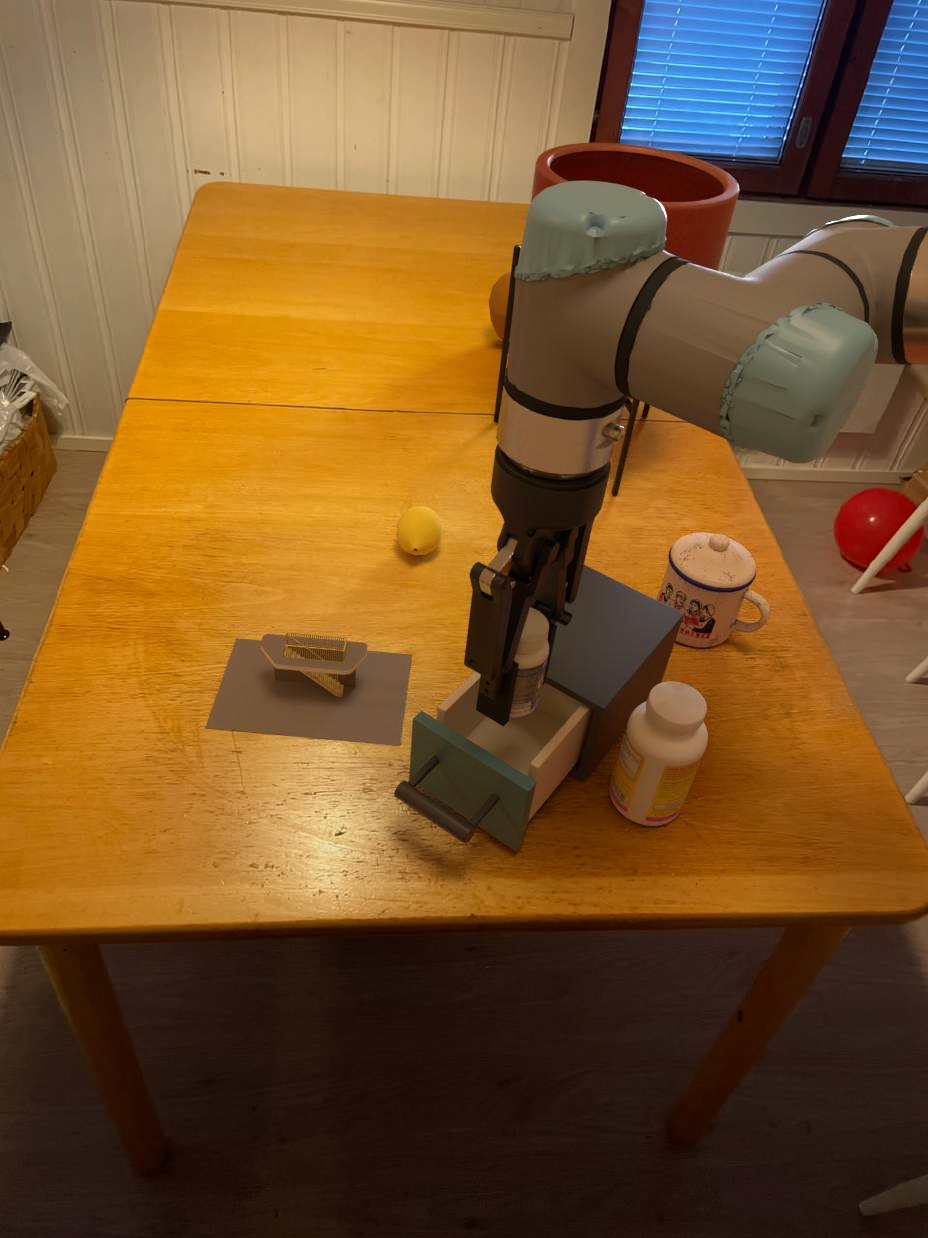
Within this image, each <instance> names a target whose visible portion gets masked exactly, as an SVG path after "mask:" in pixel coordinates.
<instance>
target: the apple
mask: <svg viewBox="0 0 928 1238" xmlns="http://www.w3.org/2000/svg"><path fill="white" fill-rule="evenodd" d="M510 276H511V271H507V272H505V273H504V274H502V275H501V276H500V277H499V278H498V279H497V280H496V282H495V283H494V284H493V285H492V286H491V291H490V295H489V299H488V308H489V317H490V321H491V322H490V323H491V325H492V327H493V329H494V331H495V334H496V336H497V338H499V340H500V339H501V340H502V341H503V336H504V328H505V319H506V311H507V302H508V293H509V285H510ZM512 317H513V316H512ZM511 327H512V325H511ZM510 336H511V333H510ZM501 340H500V341H501ZM502 341H501V342H502Z"/></svg>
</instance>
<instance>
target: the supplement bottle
mask: <svg viewBox="0 0 928 1238" xmlns="http://www.w3.org/2000/svg"><path fill="white" fill-rule="evenodd" d="M707 712H708V706H707V702H706V700H705V698H704V697H703V695H702V694H701V693H700V692H699V691H698V690H697V689H696V688H694V687H692V686H690V685H689V684H687V683H685V682H684V683H683V682H679V681H670V680H669V681H668V680H667V681H663V682H661V683H660V684H658V685H656V686H655V687H654V688H653V689H652V690H651V692H650V694H649V697H648V699H647V701H646V702H644V703H642V704H640V705H639V706H638V707H637V708H636V709H635V710H634V711H633V712H632V714H631V716H630V718H629V721H628V724H627V727H626V730H625V731H624V733H623V737H622V741H621V743H620V747H619V750H618V753H617V757H616V761H615V763H614V767H613V770H612V773H611V777H610V781H609V789H608V790H609V796H610V799H611V801H612V804H613V806H614V807H615V809H616V810H617V811H618V812H619V813H620V814H621V815H622V816H624V818H626V819H627V820H630V821H631V822H634V823H635V824H639V825H642V826H649V827H658V826H663V825H666V824H668V823H671V822H672V821H673V820H674V819H676V818H677V817H678V816H679V814H680V813H681V811H682V809H683V806H684V804H685V802H686V799H687V796H688V794H689V792H690V790H691V787H692V784H693V781H694V780H695V777H696V775H697V771H698V769H699V766H700V765H701V762H702V759H703V757H704V754H705V752H706V749H707V746H708V741H709V734H708V729H707V726H706V724H705V719H706V716H707Z"/></svg>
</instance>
